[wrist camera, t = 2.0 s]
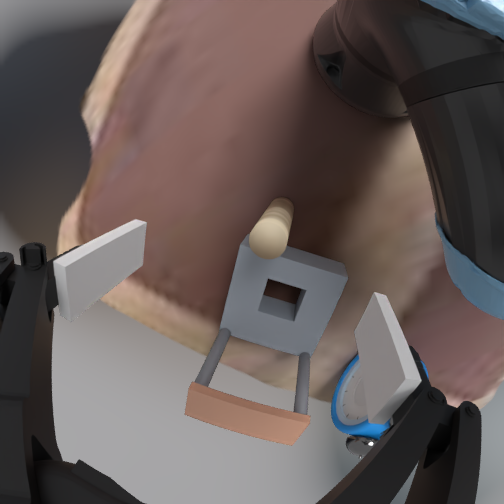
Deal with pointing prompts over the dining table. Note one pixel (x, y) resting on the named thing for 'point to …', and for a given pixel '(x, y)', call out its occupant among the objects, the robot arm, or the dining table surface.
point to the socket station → (270, 337)
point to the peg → (272, 229)
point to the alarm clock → (356, 411)
